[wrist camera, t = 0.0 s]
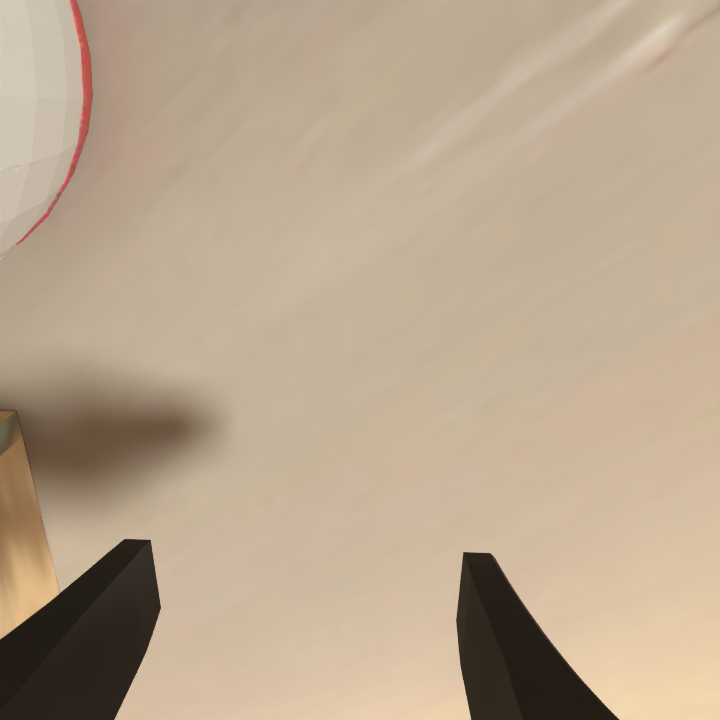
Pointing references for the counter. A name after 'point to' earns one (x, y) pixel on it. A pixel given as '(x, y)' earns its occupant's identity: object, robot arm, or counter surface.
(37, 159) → the citrus juicer
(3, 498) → the trap lane
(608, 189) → the counter surface
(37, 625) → the robot arm
